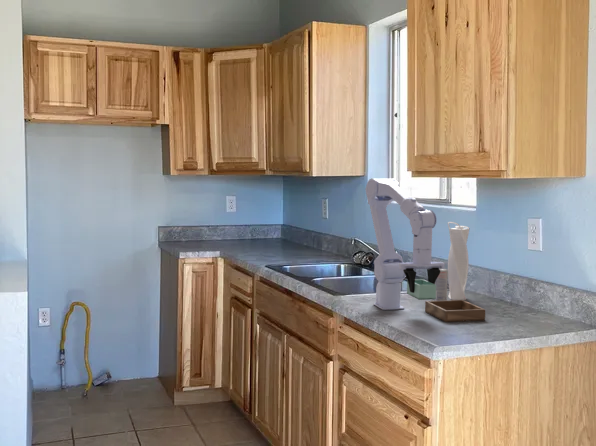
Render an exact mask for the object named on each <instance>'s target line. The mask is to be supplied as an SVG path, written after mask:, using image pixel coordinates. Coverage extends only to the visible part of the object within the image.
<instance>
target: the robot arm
mask: <svg viewBox="0 0 596 446" xmlns="http://www.w3.org/2000/svg"><path fill="white" fill-rule="evenodd" d="M365 194H366V200H367V205H369V208H370V213H371V219H372V223H373V227H374V233H375V237H376V243H377V247H378V252H379V255H377V257H376V258H374V261H373V265H374V269H373V272H374V277H375V278H376V280H377V284H376V289H375V302H373V303H372V304H373V305H374V306H375V307H377V308H379V309H381V310H383V311H385V310H386V311H387V310H388V311H389V310H404V309H405V308H406V307H404V306H403V305H401V293H402V292H401V291H402V289H401V287H402V286H401V285H402V282H403V281H404V279H405V278H406V281H408V284H409V289H410V292H412V293H414V290H415V280H416V277H417V272H416V271H415V270H426V272H427V273H426V274H427V281H428V282H430V283H433V284H435V282H436V279H437V277H438V276H439V274H440V270H439V269H446V266H445V264H446V263H445V262H443V261H432V251H433V250H432V249H433V246H432V245H433V229H434V228H435V227H436V225H437V215H436V213H435V212H434V211H433V210H432V209H430V210H429V209H426V208H425V207H424V206H423V205H421V203H420V202H418V201H417V198H415V197H408V196H407V195H406V193H405V192H404V191H403V190H402V189H401V188H400V183H399V182H398V180H397V179H396V178H393V177H392V178H371V177H370V178H369V180H367V183H366V186H365ZM393 201H394V202H396V203H397V204H398V205H399V207H400V208H399V210H400V211H401V213H403V215H404V216H405V217H406V218H408V220H409V224H410V228H411V233H412V236H413V238H412V239H413V240H412V243H413V244H412V261H407V262H404V259H403V256H402V255H401V254H399V253H398V252H397V251H396V249H395V245H394V240H393V234H392V230H391V226H390V220H389V216H388V215H389V214H388V211H387V207H388V206H389V205H391V204H392V202H393Z"/></svg>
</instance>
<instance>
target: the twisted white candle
mask: <svg viewBox="0 0 596 446" xmlns="http://www.w3.org/2000/svg"><path fill="white" fill-rule="evenodd" d="M450 224H453V225H455V226H454V227H450ZM447 226H448V230H449V240H450V247H449V251H448V257H447V271H448V288H449V289H448V290H449V293H448V294H447V298H449V299H450V300H464V301H467V298H466V295H465V290H466V287H467V286H466V285H467V281H468V277H469V251H468V245H467V242H468V238H469V234H470V227H469V226H467V225H460V224H459V223H457V222H455V221H448V222H447Z"/></svg>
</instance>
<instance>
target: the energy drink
mask: <svg viewBox="0 0 596 446" xmlns="http://www.w3.org/2000/svg"><path fill="white" fill-rule="evenodd" d="M439 270H440V274H439V276H438V277H437V279H436V282H435V285H436V299H430V301H445V300H448V286H449V281H448V268H444V269H439Z"/></svg>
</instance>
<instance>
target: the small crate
mask: <svg viewBox="0 0 596 446" xmlns="http://www.w3.org/2000/svg"><path fill="white" fill-rule="evenodd" d="M406 281H407V280H406ZM406 294H407V295H408V296H411V297H413V298H415V299H416V300H418V301H420V300H421V301H422V300H423V301H424V300H425V301H430V300H431V299H436V285H435V284H433V283H430V282H428V280H425V279H415V290H414V293H412V292H410V289H409V284H408V281H407V282H406Z"/></svg>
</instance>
